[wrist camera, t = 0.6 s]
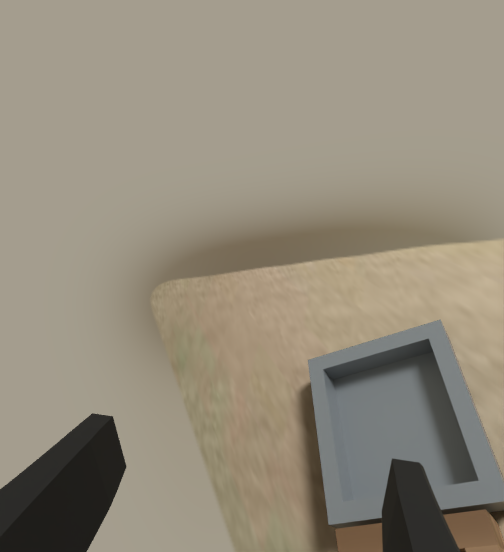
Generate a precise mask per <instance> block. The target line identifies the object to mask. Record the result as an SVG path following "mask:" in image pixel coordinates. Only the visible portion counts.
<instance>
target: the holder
mask: <svg viewBox="0 0 504 552" xmlns="http://www.w3.org/2000/svg"><path fill="white" fill-rule="evenodd" d="M443 516H444V518H445V520H446V522H447V525H448V527H449V529H450V531H451V533H452V535H453V537H454V539H455V541H456V544H457V546H458V548H459V550H460V551H461V552H504V540H503V537H502V534H501V531H500V528H499V526H498V523H497V522H496V521H495V520H494V518H493V517H492V516H491V515H490V514H489V513H488V511H487V510H486V509H484V510H477V511H469V512H461V513H453V514H446V515H443ZM335 532H336V539H337V547H338V552H383V544H382V523H377V524H369V525H361V526H353V527H346V528H338V529H335Z"/></svg>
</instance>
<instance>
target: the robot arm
mask: <svg viewBox="0 0 504 552" xmlns="http://www.w3.org/2000/svg"><path fill="white" fill-rule="evenodd" d="M125 469H126V464H125V460H124V456H123V453H122V449H121V445H120V441H119V438H118V434H117V431H116V427H115V423H114V419H113V417H112V416H106V415H99V414H91V415H90V416H89V417H88V418H86V419H85V420H84V421H83V422H82V423H80V424H79V425H78V426H77V427H76V428H75V429H73V430H72V431H71V432H70V433H68V434H67V435H66V436H65V437H64V438H62V439H61V440H60V441H59V442H58V443H57V444H55V445H54V446H53V447H52V448H51V449H50V450H48V451H47V452H46V453H45V454H43V455H42V456H41V457H40V458H39V459H37V460H36V461H35V462H34V463H33V464H31V465H30V466H29V467H28V468H26V469H25V470H24V471H23V472H22V473H20V474H19V475H18V476H17V477H15V478H14V479H13V480H12V481H10V482H9V483H8V484H7V485H5V486H4V487H3V488H2V489H0V552H86V551H87V550H88V548H89V546H90V544H91V542H92V541H93V539H94V537H95V535H96V533H97V531H98V529H99V527H100V525H101V524H102V522H103V520H104V518H105V516H106V514H107V512H108V510H109V508H110V506H111V504H112V502H113V499H114V497H115V494H116V492H117V490H118V487H119V484H120V482H121V479H122V477H123V474H124V471H125ZM382 544H383V552H461V551H460V550H459V548H458V546H457V544H456V541H455V539H454V537H453V535H452V533H451V531H450V529H449V527H448V525H447V522H446V520H445V518H444V516H443V514H442V511H441V509H440V507H439V505H438V502H437V500H436V498H435V495H434V493H433V490H432V488H431V485H430V483H429V480H428V478H427V475H426V472H425V470H424V467H423V466H422V465H421V464H420V463H419V462H413V461H406V460H399V459H393V458H392V461H391V466H390V471H389V476H388V481H387V486H386V492H385V497H384V502H383V507H382Z"/></svg>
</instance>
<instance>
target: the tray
mask: <svg viewBox="0 0 504 552" xmlns="http://www.w3.org/2000/svg"><path fill="white" fill-rule="evenodd" d="M308 365H309V373H310V381H311V389H312V397H313V405H314V413H315V421H316V428H317V436H318V444H319V452H320V460H321V468H322V476H323V484H324V492H325V500H326V508H327V516H328V524H329V525H330V526H333V527H335V528H346V527H353V526H361V525H369V524H377V523H382V507H383V502H384V497H385V492H386V486H387V481H388V476H389V471H390V466H391V461H392V458H393V459H399V460H406V461H413V462H419V463H420V464H421V465H422V466H423V467H424V470H425V472H426V475H427V478H428V480H429V483H430V485H431V488H432V490H433V493H434V495H435V498H436V500H437V502H438V505H439V507H440V509H441V511H442V514H443V515H446V514H453V513H461V512H469V511H477V510H484V509H486V510H487V511H488V513H490V512H498V511H504V479H503V476H502V473H501V471H500V468H499V466H498V463H497V461H496V458H495V455H494V453H493V450H492V448H491V445H490V443H489V440H488V437H487V435H486V432H485V430H484V427H483V425H482V422H481V419H480V417H479V414H478V412H477V409H476V407H475V404H474V401H473V399H472V396H471V394H470V391H469V389H468V386H467V383H466V381H465V378H464V376H463V373H462V371H461V368H460V366H459V363H458V360H457V358H456V355H455V353H454V350H453V348H452V345H451V342H450V340H449V337H448V335H447V333H446V331H445V328H444V326H443V324H442V322H441V320H437V321H434V322H431V323H428V324H424V325H421V326H418V327H415V328H411V329H408V330H405V331H401V332H398V333H395V334H392V335H388V336H385V337H382V338H379V339H375V340H372V341H369V342H365V343H362V344H359V345H356V346H352V347H349V348H346V349H343V350H339V351H336V352H333V353H329V354H326V355H323V356H320V357H316V358H313V359H310V360H308Z"/></svg>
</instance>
